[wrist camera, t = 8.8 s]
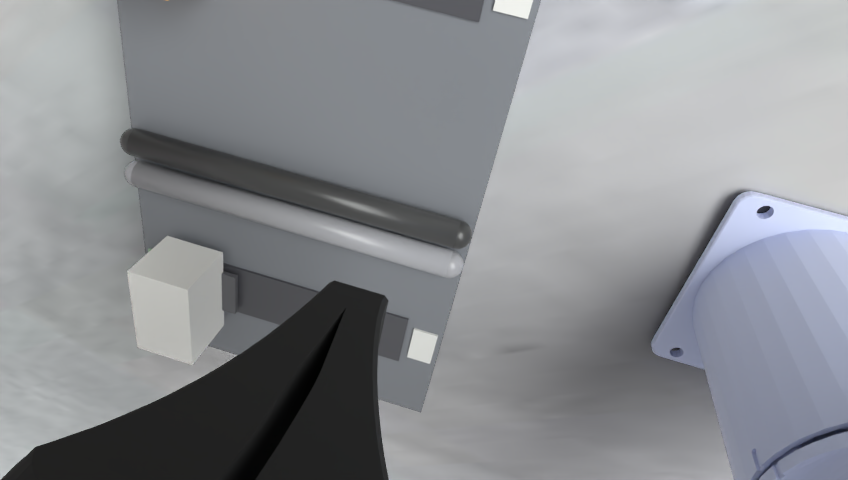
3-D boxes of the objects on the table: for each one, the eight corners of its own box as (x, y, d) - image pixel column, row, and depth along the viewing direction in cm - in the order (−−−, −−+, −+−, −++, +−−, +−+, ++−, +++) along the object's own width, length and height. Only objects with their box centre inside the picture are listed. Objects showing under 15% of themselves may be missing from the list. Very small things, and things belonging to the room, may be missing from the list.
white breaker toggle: (237, 255, 23) (203, 294, 20) (237, 328, 25) (206, 369, 23) (154, 231, 23) (111, 266, 21) (161, 304, 25) (123, 343, 23)
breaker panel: (621, -278, 14) (635, -325, 11) (434, 365, 28) (415, 430, 25) (150, -377, 15) (35, -446, 12) (189, 290, 29) (140, 343, 26)
